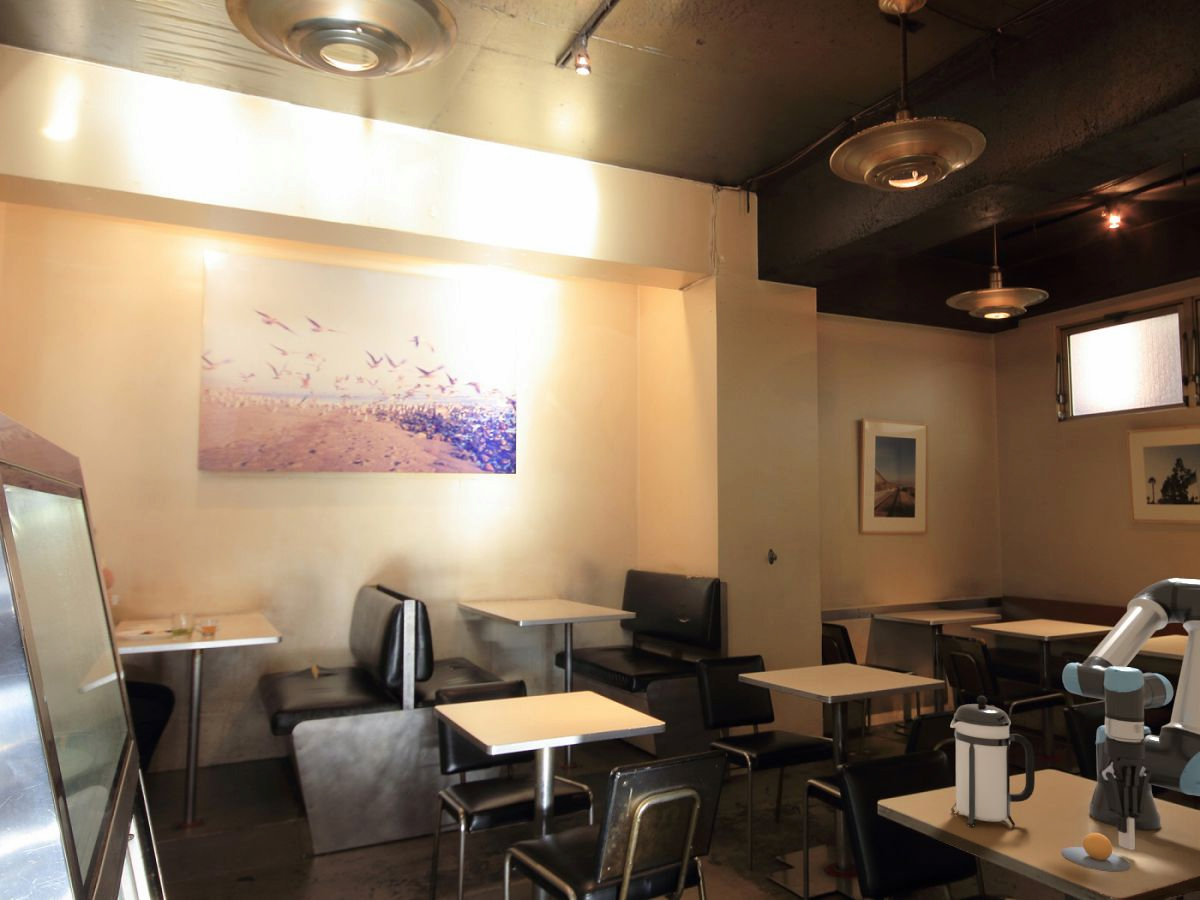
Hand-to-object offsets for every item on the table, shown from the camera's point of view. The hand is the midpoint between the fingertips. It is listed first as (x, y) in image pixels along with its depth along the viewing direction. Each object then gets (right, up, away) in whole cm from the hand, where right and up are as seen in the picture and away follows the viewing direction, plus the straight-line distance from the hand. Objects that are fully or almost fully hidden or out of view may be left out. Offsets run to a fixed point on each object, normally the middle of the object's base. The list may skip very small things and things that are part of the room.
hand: (1126, 846), depth 187 cm
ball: (-8, +1, -3) cm, 9 cm away
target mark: (-9, -1, -3) cm, 9 cm away
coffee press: (-22, -3, +20) cm, 30 cm away
